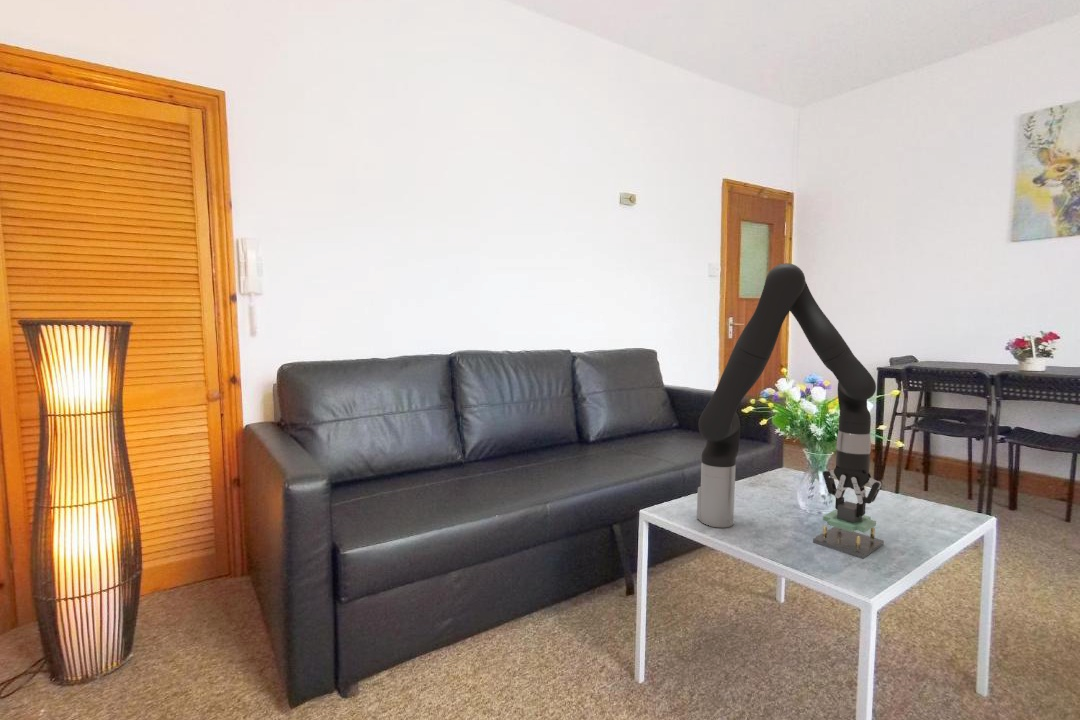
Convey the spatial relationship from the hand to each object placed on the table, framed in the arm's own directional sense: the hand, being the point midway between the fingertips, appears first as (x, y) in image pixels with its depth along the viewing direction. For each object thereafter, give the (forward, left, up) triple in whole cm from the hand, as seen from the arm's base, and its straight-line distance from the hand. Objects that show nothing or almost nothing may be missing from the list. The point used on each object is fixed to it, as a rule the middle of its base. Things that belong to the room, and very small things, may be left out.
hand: (849, 514), depth 141 cm
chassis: (0, 0, -8) cm, 8 cm away
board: (0, 0, -2) cm, 2 cm away
